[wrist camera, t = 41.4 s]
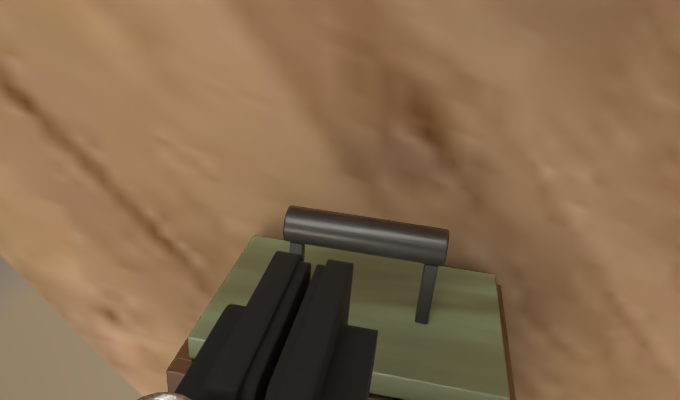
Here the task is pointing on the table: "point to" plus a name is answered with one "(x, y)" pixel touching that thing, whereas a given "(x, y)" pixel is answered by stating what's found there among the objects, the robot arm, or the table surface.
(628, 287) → the table surface
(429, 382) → the drawer
